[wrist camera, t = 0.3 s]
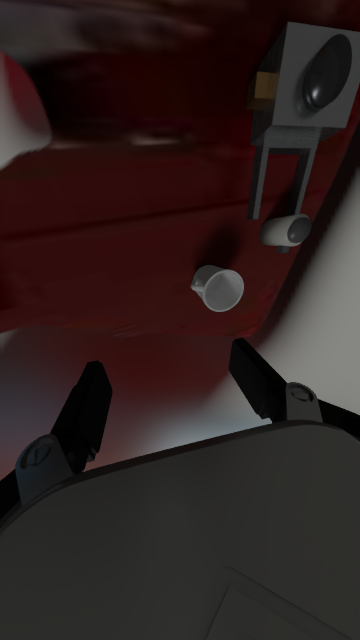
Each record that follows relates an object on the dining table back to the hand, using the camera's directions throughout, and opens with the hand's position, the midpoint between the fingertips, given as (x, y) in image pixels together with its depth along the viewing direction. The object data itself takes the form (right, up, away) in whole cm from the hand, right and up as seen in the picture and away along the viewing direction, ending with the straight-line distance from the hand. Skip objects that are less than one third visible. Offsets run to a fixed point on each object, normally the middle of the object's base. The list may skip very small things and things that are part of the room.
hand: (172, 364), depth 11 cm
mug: (+7, +14, +29) cm, 33 cm away
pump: (+23, +25, +27) cm, 43 cm away
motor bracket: (+20, +36, +20) cm, 46 cm away
